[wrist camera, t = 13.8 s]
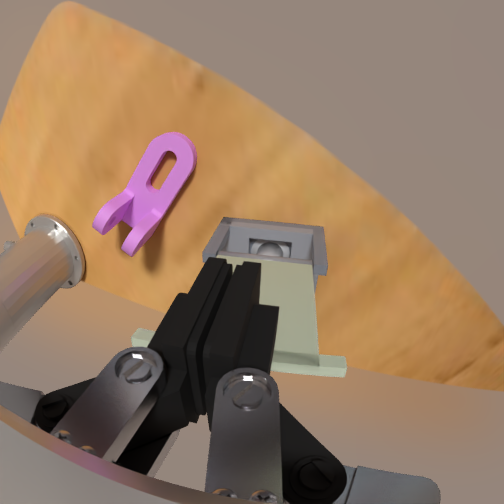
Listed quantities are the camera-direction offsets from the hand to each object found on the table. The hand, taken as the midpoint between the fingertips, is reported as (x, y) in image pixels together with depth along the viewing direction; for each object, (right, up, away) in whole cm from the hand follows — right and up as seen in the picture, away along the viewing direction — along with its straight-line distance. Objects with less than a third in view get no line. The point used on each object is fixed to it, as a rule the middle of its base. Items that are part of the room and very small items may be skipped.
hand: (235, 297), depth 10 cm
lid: (+1, -2, +12) cm, 12 cm away
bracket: (-10, +10, +25) cm, 29 cm away
